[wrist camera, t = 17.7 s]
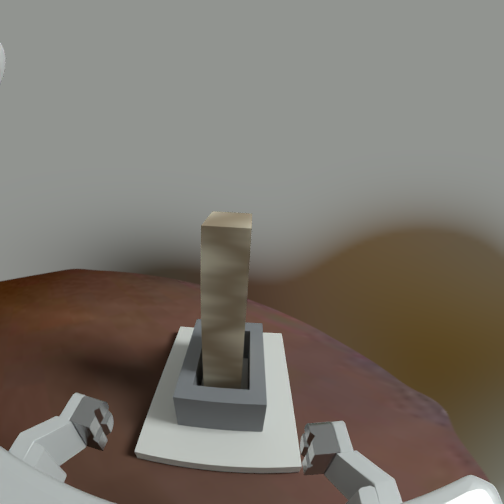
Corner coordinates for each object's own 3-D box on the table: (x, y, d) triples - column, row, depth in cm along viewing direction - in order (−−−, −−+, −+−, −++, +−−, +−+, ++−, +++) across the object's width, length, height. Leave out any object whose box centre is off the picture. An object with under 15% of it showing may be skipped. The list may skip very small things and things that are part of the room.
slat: (204, 401, 21) (201, 225, 17) (211, 365, 26) (212, 211, 21) (239, 404, 21) (251, 228, 17) (241, 367, 26) (252, 213, 21)
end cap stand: (137, 457, 15) (122, 425, 14) (181, 333, 32) (179, 300, 31) (298, 472, 16) (312, 442, 14) (280, 340, 33) (285, 308, 31)
